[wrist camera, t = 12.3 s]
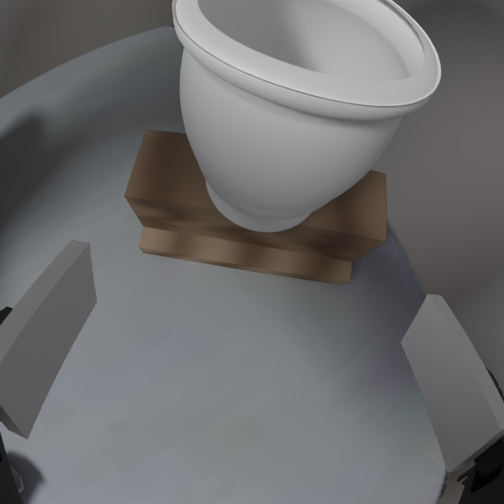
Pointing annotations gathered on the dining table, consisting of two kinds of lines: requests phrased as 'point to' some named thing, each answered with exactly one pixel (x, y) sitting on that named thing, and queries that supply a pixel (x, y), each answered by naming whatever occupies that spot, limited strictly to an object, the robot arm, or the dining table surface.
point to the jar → (295, 98)
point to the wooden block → (241, 239)
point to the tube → (18, 480)
